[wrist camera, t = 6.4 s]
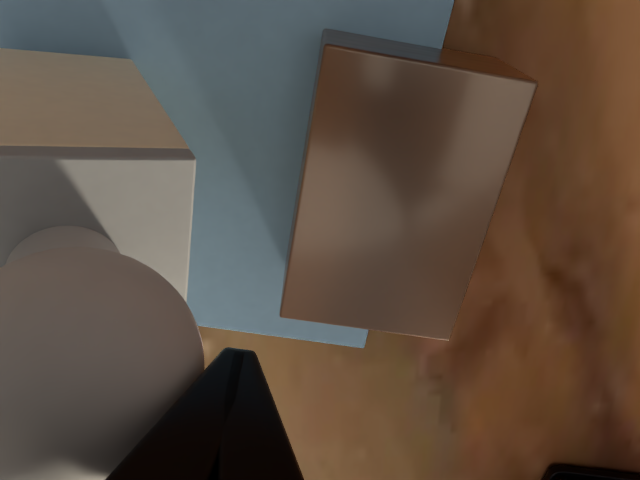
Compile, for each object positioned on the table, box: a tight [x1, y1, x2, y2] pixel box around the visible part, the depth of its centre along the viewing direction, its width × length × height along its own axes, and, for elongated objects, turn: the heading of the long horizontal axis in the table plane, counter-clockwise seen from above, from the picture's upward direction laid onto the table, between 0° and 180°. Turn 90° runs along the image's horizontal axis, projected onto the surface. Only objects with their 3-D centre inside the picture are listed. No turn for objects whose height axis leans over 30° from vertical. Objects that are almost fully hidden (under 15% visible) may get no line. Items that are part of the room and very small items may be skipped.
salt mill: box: [0, 48, 204, 480], centre depth 13 cm, size 14×5×10 cm
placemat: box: [0, 0, 454, 348], centre depth 19 cm, size 18×16×1 cm
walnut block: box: [279, 28, 538, 341], centre depth 18 cm, size 6×9×4 cm, turn 170°
